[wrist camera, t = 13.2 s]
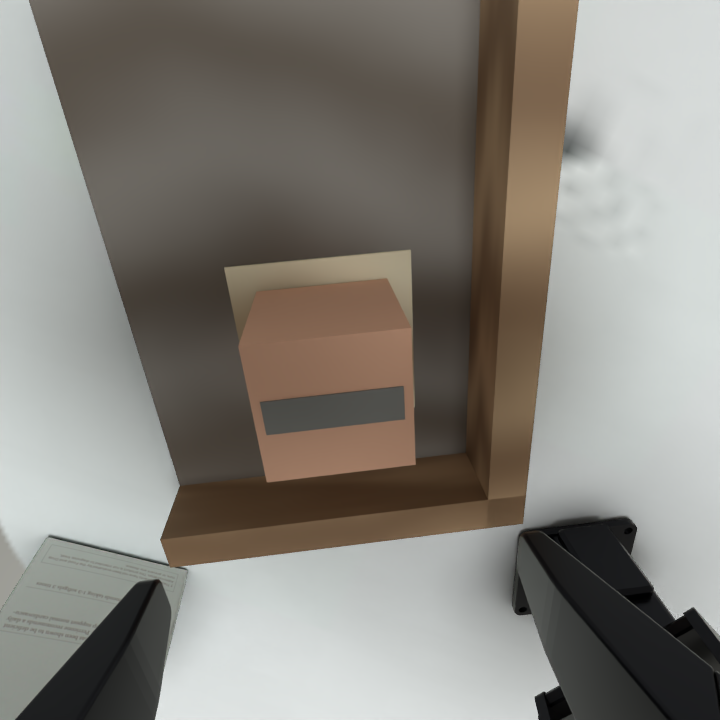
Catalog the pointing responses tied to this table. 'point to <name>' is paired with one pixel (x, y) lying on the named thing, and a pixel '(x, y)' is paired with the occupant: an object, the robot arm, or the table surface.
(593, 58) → the table surface
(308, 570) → the table surface
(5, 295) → the table surface
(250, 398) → the terracotta block
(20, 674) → the supplement box
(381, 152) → the arena
